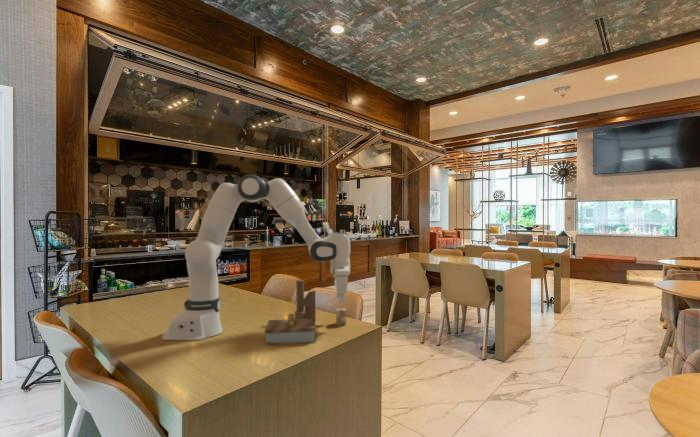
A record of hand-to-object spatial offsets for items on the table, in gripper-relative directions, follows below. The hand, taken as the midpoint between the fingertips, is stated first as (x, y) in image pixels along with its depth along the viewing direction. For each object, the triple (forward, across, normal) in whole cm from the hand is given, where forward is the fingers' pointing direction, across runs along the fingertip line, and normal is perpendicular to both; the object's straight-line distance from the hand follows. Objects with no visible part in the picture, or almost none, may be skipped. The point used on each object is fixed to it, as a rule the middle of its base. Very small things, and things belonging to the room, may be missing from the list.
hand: (339, 300), depth 152 cm
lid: (+7, +15, -20) cm, 26 cm away
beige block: (+11, 0, +1) cm, 11 cm away
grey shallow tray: (+11, +15, -20) cm, 27 cm away
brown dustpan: (+11, -8, -15) cm, 21 cm away
